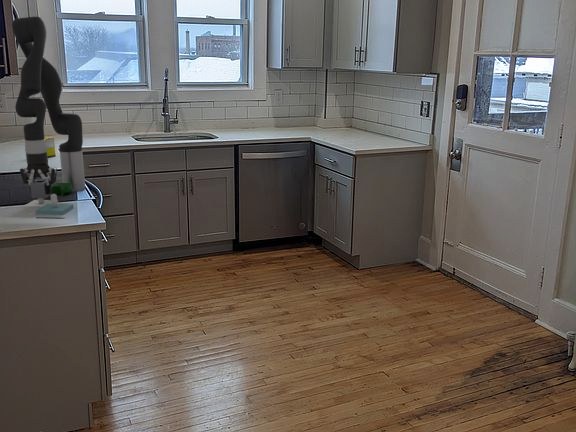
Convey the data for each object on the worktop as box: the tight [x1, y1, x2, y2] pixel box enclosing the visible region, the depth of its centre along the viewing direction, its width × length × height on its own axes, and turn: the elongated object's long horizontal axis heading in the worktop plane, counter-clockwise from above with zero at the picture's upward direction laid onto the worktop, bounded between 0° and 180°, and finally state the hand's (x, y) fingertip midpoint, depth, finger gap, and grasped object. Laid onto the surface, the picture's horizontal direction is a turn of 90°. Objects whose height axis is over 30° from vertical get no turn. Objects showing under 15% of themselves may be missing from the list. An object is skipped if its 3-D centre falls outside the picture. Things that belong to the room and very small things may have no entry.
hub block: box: [35, 194, 75, 220], centre depth 221 cm, size 10×10×8 cm
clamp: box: [49, 182, 73, 197], centre depth 248 cm, size 12×6×9 cm, turn 94°
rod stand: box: [23, 198, 60, 208], centre depth 233 cm, size 10×10×6 cm
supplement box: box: [44, 136, 57, 158], centre depth 344 cm, size 6×6×11 cm
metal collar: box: [29, 179, 51, 199], centre depth 232 cm, size 5×5×6 cm
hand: (41, 194), depth 233 cm, fingers closed on metal collar, 5 cm apart
